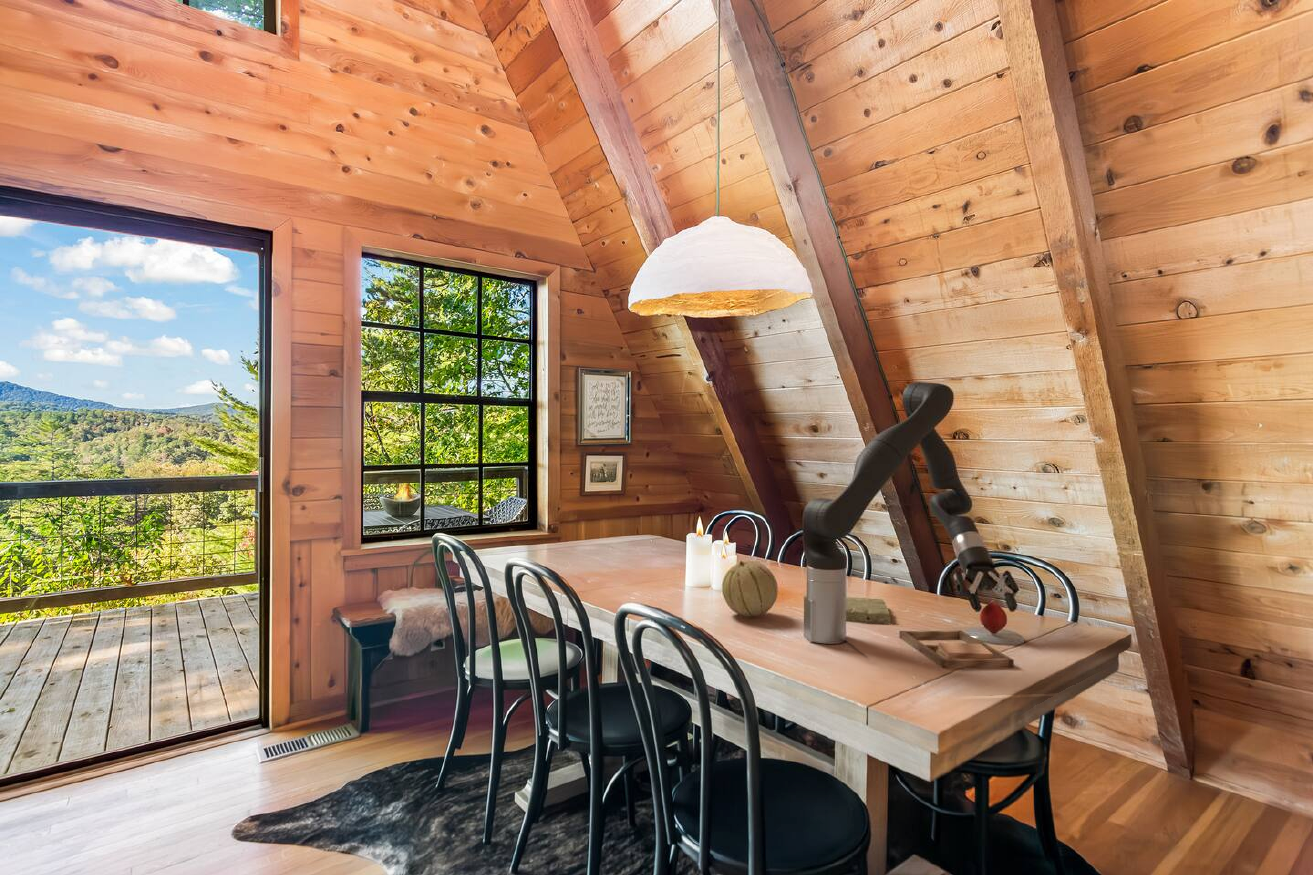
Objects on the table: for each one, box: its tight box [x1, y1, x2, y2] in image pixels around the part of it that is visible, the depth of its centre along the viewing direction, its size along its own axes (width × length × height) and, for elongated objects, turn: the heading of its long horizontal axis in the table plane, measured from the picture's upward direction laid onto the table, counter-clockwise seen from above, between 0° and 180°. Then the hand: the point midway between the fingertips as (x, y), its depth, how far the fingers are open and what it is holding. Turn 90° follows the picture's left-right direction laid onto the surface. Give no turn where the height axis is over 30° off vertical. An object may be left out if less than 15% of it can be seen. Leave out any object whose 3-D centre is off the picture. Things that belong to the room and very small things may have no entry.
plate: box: [963, 626, 1025, 646], centre depth 167 cm, size 13×13×1 cm
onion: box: [979, 599, 1008, 634], centre depth 168 cm, size 6×6×8 cm
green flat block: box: [846, 596, 892, 625], centre depth 191 cm, size 19×20×4 cm
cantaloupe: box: [721, 560, 779, 618], centre depth 187 cm, size 15×15×15 cm
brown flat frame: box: [899, 630, 1014, 669], centre depth 156 cm, size 15×22×2 cm
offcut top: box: [937, 642, 993, 659], centre depth 150 cm, size 9×7×1 cm
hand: (996, 610), depth 166 cm, fingers open, 8 cm apart
